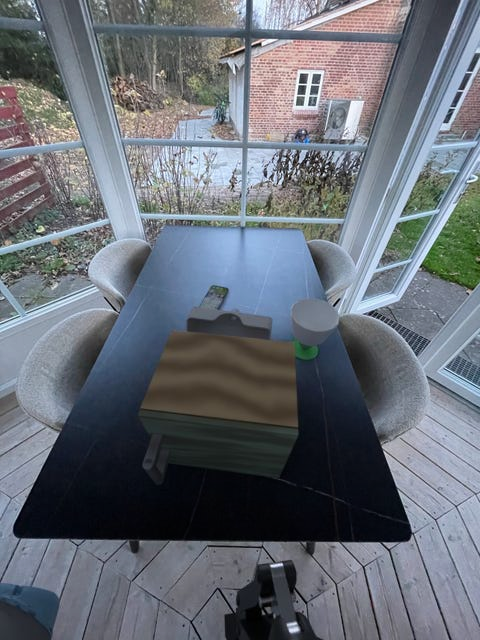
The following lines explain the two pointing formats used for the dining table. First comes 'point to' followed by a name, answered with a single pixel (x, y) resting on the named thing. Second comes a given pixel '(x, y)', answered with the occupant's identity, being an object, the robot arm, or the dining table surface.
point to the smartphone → (214, 297)
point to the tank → (228, 323)
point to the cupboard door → (214, 445)
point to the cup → (312, 325)
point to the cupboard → (226, 379)
